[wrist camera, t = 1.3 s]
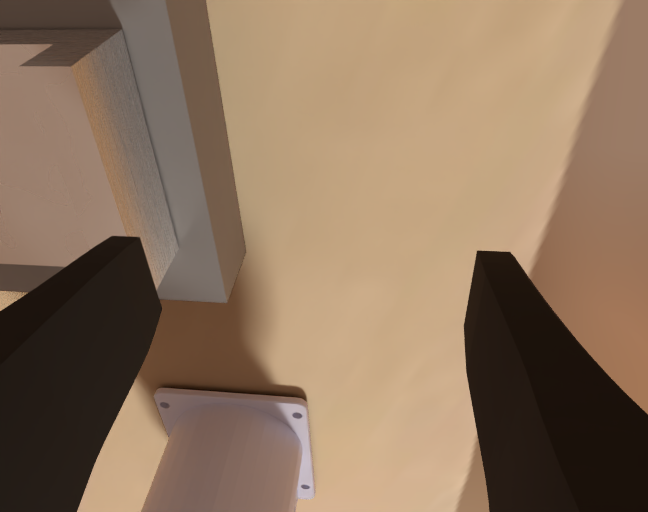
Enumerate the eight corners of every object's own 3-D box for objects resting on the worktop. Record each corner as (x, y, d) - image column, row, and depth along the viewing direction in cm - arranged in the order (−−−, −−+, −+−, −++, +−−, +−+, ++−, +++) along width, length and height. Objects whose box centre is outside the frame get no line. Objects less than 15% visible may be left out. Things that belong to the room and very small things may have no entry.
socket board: (245, 251, 22) (227, 303, 19) (-70, 238, 23) (-122, 283, 21) (188, -104, 14) (147, -90, 12) (-269, -89, 16) (-384, -73, 14)
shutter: (178, 248, 18) (148, 304, 16) (-15, 240, 19) (-68, 292, 17) (122, 29, 14) (70, 66, 12) (-127, 30, 14) (-217, 65, 12)
